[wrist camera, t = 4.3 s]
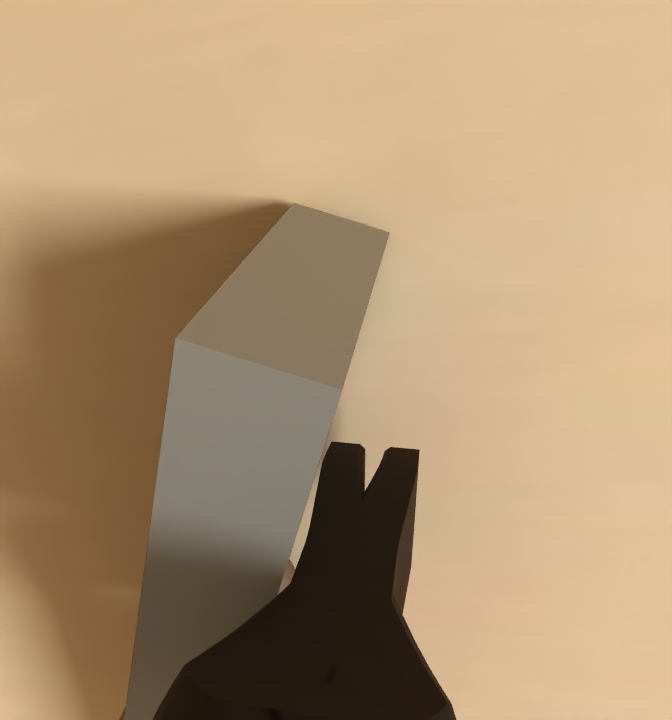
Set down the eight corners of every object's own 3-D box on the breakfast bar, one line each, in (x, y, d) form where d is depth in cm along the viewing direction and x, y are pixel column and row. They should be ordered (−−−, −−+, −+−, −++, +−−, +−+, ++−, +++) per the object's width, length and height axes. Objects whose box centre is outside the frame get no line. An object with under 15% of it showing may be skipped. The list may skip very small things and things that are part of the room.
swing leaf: (285, 619, 18) (220, 853, 13) (191, 590, 18) (89, 811, 13) (413, 239, 12) (384, 402, 7) (269, 195, 12) (134, 325, 7)
